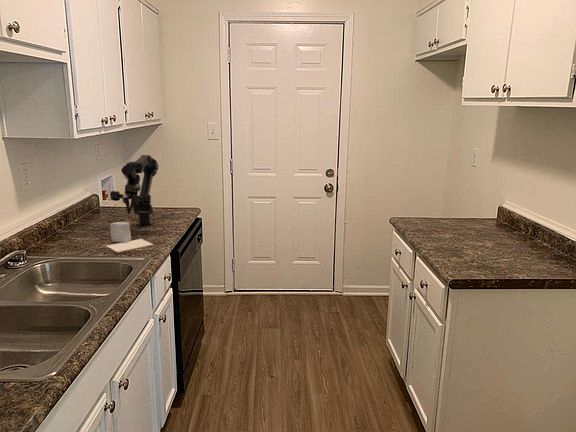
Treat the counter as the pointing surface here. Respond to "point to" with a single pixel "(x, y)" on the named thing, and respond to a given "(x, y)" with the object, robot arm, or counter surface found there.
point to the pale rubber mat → (129, 245)
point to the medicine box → (120, 232)
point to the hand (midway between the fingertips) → (128, 213)
